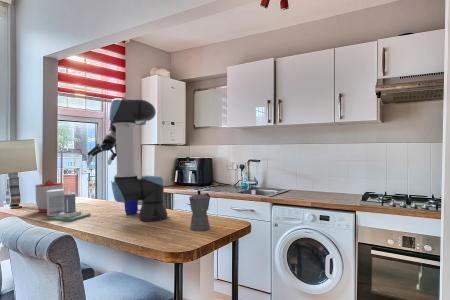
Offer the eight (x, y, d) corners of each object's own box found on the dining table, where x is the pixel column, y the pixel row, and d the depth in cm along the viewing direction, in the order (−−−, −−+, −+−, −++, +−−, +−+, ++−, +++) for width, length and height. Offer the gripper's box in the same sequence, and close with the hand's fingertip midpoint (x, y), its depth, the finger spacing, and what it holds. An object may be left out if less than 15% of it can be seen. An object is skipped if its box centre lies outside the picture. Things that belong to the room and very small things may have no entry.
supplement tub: (68, 213, 182) (68, 189, 182) (54, 217, 173) (54, 191, 173) (57, 212, 186) (56, 188, 186) (43, 216, 177) (42, 191, 177)
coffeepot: (200, 233, 133) (199, 192, 133) (183, 231, 137) (182, 191, 137) (218, 225, 146) (217, 188, 146) (201, 223, 151) (200, 187, 151)
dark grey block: (75, 214, 173) (75, 193, 173) (70, 216, 169) (70, 194, 168) (69, 214, 173) (68, 193, 173) (64, 216, 169) (63, 194, 169)
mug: (140, 215, 173) (140, 197, 173) (121, 214, 176) (120, 197, 176) (147, 212, 181) (146, 195, 181) (128, 211, 184) (128, 195, 184)
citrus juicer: (62, 207, 205) (61, 177, 204) (65, 211, 190) (64, 179, 190) (35, 210, 196) (34, 179, 196) (36, 214, 181) (35, 181, 181)
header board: (90, 215, 175) (90, 210, 175) (71, 221, 162) (71, 215, 162) (69, 214, 180) (69, 209, 180) (48, 219, 167) (48, 214, 167)
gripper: (130, 143, 197) (119, 167, 182) (95, 144, 200) (82, 168, 186) (126, 134, 191) (115, 159, 177) (90, 135, 195) (76, 160, 180)
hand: (98, 163), depth 181 cm, fingers open, 13 cm apart
